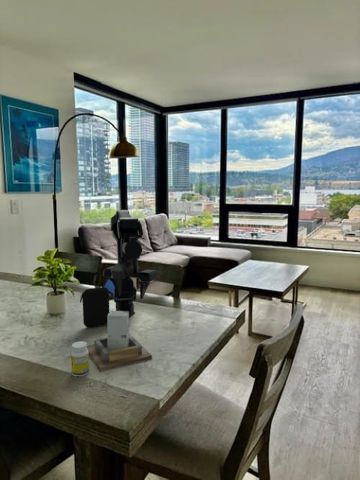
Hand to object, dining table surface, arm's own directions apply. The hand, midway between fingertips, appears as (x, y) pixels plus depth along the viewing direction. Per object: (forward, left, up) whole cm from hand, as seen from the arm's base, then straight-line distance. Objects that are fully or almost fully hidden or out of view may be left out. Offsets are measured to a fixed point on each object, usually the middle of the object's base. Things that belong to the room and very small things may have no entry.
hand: (130, 297), depth 125 cm
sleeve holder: (+5, -16, -13) cm, 21 cm away
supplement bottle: (+2, -30, -13) cm, 33 cm away
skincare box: (+5, -15, -12) cm, 20 cm away
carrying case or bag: (-15, -1, -13) cm, 20 cm away
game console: (-35, +33, -14) cm, 50 cm away
